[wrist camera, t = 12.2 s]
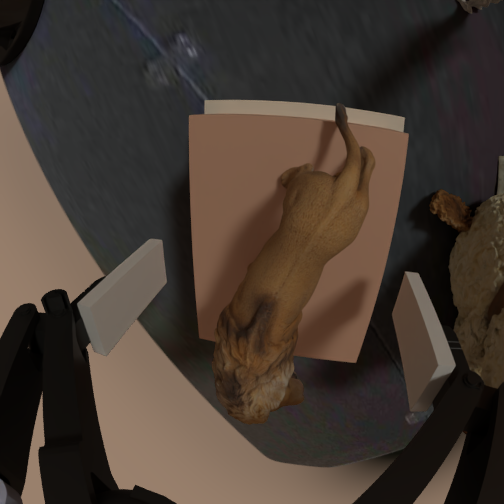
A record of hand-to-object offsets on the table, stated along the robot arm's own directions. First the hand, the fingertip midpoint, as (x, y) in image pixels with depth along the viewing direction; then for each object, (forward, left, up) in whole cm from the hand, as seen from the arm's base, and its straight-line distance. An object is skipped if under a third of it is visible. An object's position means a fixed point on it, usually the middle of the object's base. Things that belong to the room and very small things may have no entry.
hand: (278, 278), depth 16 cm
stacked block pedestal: (0, 0, -13) cm, 13 cm away
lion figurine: (+1, +1, -3) cm, 3 cm away
